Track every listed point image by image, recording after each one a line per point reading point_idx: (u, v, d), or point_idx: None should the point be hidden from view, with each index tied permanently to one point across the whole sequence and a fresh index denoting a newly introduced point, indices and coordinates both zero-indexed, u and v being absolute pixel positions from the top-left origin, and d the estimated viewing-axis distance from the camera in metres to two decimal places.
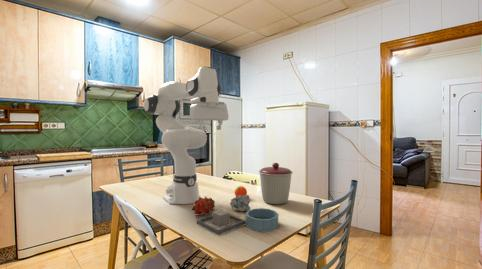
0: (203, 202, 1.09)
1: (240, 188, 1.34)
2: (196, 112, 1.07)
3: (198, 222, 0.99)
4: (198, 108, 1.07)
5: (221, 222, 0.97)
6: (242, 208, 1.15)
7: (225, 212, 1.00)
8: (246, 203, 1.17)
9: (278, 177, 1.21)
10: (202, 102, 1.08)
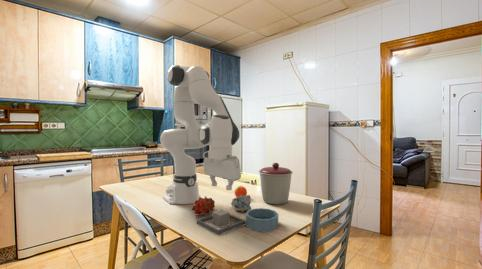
0: (203, 202, 1.09)
1: (240, 188, 1.34)
2: (204, 167, 1.04)
3: (198, 222, 0.99)
4: (206, 163, 1.04)
5: (221, 222, 0.97)
6: (243, 208, 1.15)
7: (225, 212, 1.00)
8: (247, 203, 1.17)
9: (278, 177, 1.21)
10: (206, 158, 1.02)
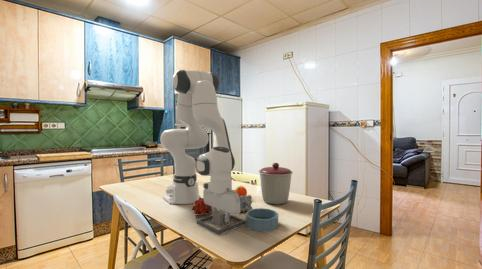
0: (203, 202, 1.09)
1: (240, 188, 1.34)
2: (204, 197, 1.05)
3: (198, 222, 0.99)
4: (206, 193, 1.04)
5: (221, 222, 0.97)
6: (244, 208, 1.15)
7: None
8: (248, 203, 1.17)
9: (278, 177, 1.21)
10: (206, 189, 1.02)
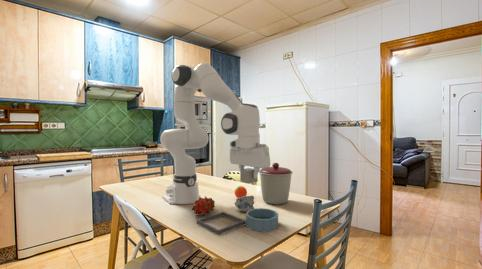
0: (203, 202, 1.09)
1: (240, 188, 1.34)
2: (231, 157, 1.04)
3: (198, 222, 0.99)
4: (233, 152, 1.03)
5: (250, 178, 0.96)
6: (246, 208, 1.14)
7: (253, 169, 0.99)
8: (250, 204, 1.16)
9: (278, 177, 1.21)
10: (233, 147, 1.01)
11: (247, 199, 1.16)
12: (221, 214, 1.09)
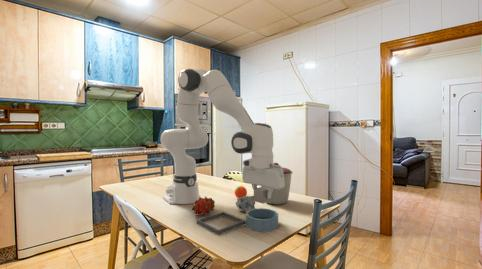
0: (203, 202, 1.09)
1: (240, 188, 1.34)
2: (243, 175, 1.04)
3: (198, 222, 0.99)
4: (245, 171, 1.03)
5: (264, 198, 0.96)
6: (247, 209, 1.14)
7: (266, 188, 0.99)
8: (251, 204, 1.16)
9: None
10: (246, 166, 1.01)
11: (248, 199, 1.16)
12: (221, 214, 1.09)
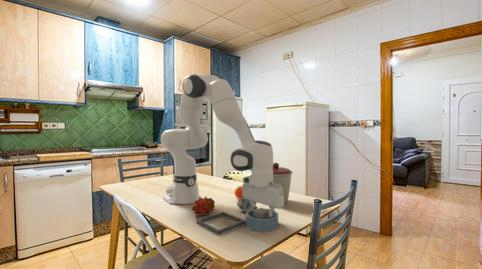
0: (203, 202, 1.09)
1: (240, 188, 1.34)
2: (243, 191, 1.05)
3: (198, 222, 0.99)
4: (245, 187, 1.04)
5: None
6: (248, 209, 1.14)
7: (266, 210, 1.00)
8: None
9: (278, 177, 1.21)
10: (246, 183, 1.02)
11: None
12: (221, 214, 1.09)
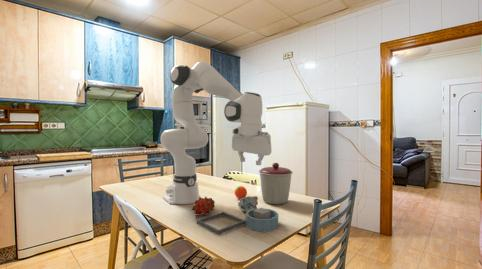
0: (203, 202, 1.09)
1: (240, 188, 1.34)
2: (233, 143, 1.07)
3: (198, 222, 0.99)
4: (235, 139, 1.06)
5: None
6: (249, 209, 1.14)
7: (266, 210, 1.00)
8: (254, 204, 1.15)
9: (278, 177, 1.21)
10: (236, 134, 1.04)
11: (250, 199, 1.15)
12: (221, 214, 1.09)
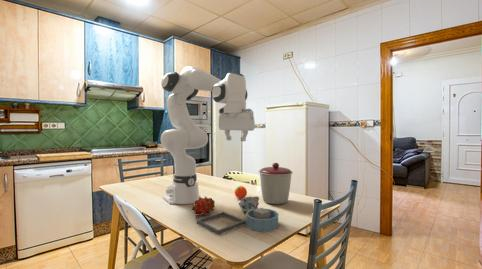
0: (203, 202, 1.09)
1: (240, 188, 1.34)
2: (219, 123, 1.12)
3: (198, 222, 0.99)
4: (221, 119, 1.11)
5: None
6: (250, 209, 1.13)
7: (266, 210, 1.00)
8: (255, 204, 1.15)
9: (278, 177, 1.21)
10: (221, 113, 1.09)
11: (251, 200, 1.15)
12: (221, 214, 1.09)
